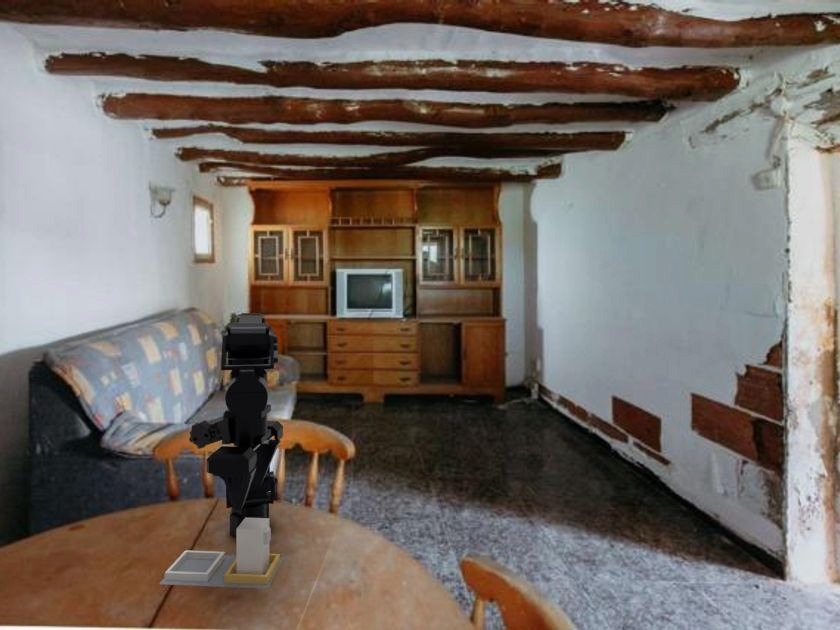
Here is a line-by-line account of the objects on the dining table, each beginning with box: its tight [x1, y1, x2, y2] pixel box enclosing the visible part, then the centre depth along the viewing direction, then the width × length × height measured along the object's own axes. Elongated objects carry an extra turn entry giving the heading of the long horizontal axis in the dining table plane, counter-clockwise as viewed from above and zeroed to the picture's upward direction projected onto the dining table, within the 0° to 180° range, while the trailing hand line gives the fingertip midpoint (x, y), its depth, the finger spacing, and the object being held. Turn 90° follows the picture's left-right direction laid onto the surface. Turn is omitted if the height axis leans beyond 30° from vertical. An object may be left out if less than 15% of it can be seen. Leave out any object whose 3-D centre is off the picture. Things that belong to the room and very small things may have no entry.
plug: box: [235, 517, 272, 575], centre depth 85 cm, size 5×4×8 cm
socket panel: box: [158, 550, 285, 590], centre depth 86 cm, size 17×9×2 cm, turn 88°
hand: (248, 496), depth 85 cm, fingers open, 9 cm apart
